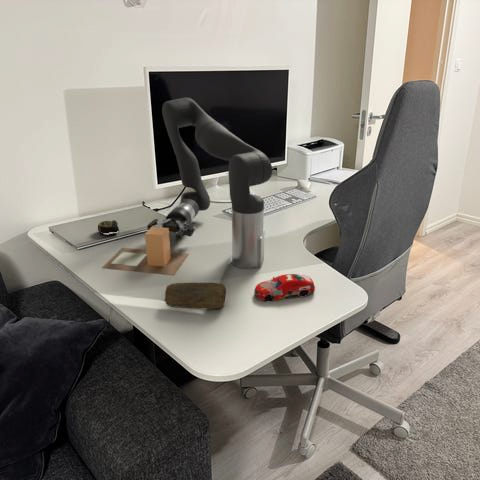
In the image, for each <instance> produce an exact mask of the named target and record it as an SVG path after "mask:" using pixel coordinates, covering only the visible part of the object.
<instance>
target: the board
mask: <svg viewBox="0 0 480 480" xmlns="http://www.w3.org/2000/svg"><path fill="white" fill-rule="evenodd" d="M170 254H171V259H170V261H169V262H168V263H167V264H166V266H165V267H163V266H152V265H148V261H147V250H146V249H142V248H141V249H140V248H128V247H122V248H120V249H119V250H118V251H117V252H116V253H115V254H114V255H113V256H112V257H111V258H110V259H109V260H108V261H107V262H106V263H105V264H104V265H103V266H102V267H101V269H107V270H117V271H125V272H126V271H127V272H138V273H146V274H157V275H165V276H175V275H176V274H177V272H178V271H179V269H180V268H181V267H182V265H183V264H184V262H185V261H186V259H187V258H188V256H189V255H190V253H183V252H174V251H170Z"/></svg>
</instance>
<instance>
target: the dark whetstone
mask: <svg viewBox="0 0 480 480" xmlns="http://www.w3.org/2000/svg"><path fill="white" fill-rule="evenodd" d="M164 296H165V297H164V299H165V305H167V306H170V307H174V308H183V309H221V308H224V306H225V303H226V297H227V287H226V286H225V284H224V283H218V282H175V283H170V284H168V285H167V286H166V288H165V293H164Z"/></svg>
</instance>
